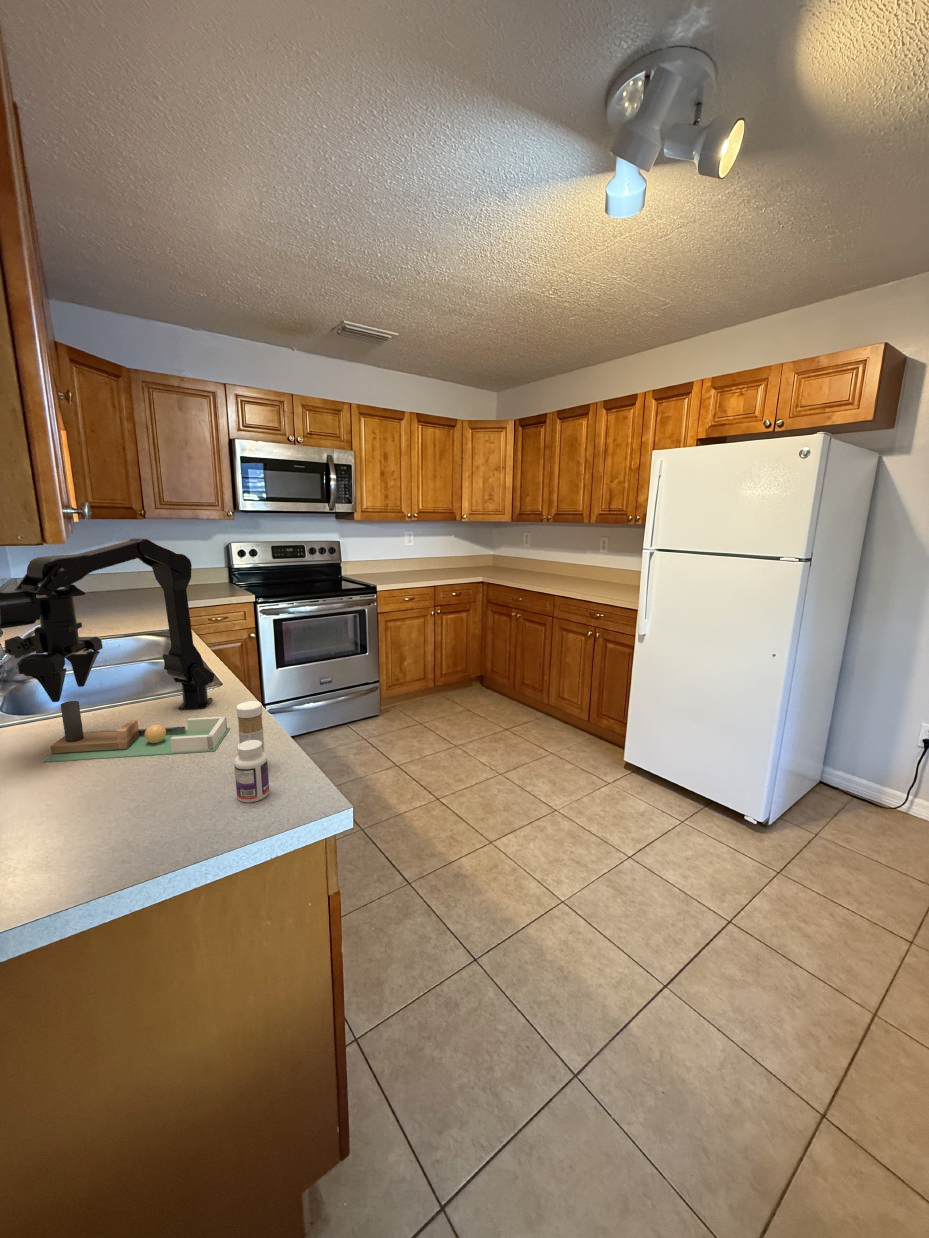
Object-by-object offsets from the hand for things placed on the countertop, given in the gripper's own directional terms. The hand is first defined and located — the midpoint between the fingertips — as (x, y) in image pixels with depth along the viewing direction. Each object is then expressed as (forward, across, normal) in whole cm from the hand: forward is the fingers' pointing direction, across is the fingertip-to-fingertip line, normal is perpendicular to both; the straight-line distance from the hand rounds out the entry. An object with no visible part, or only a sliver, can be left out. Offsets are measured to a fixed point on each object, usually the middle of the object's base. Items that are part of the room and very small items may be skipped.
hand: (69, 693), depth 103 cm
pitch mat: (+12, 0, +13) cm, 18 cm away
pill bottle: (+12, +25, +40) cm, 49 cm away
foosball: (+10, 0, +15) cm, 18 cm away
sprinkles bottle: (+12, +15, +38) cm, 43 cm away
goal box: (+12, 0, +24) cm, 27 cm away
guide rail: (+12, -4, +8) cm, 15 cm away
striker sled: (+12, 0, +4) cm, 13 cm away
